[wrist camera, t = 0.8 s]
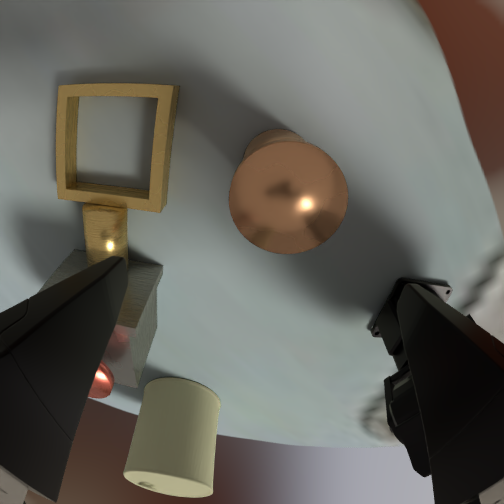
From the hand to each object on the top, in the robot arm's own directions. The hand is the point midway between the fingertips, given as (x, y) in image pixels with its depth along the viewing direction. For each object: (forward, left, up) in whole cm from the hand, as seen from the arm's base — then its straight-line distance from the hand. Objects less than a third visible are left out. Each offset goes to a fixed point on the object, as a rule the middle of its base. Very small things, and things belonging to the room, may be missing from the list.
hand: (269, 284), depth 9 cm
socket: (+10, -1, -12) cm, 16 cm away
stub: (-1, -1, -12) cm, 12 cm away
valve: (+10, +9, -12) cm, 18 cm away
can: (+4, +27, -12) cm, 30 cm away
